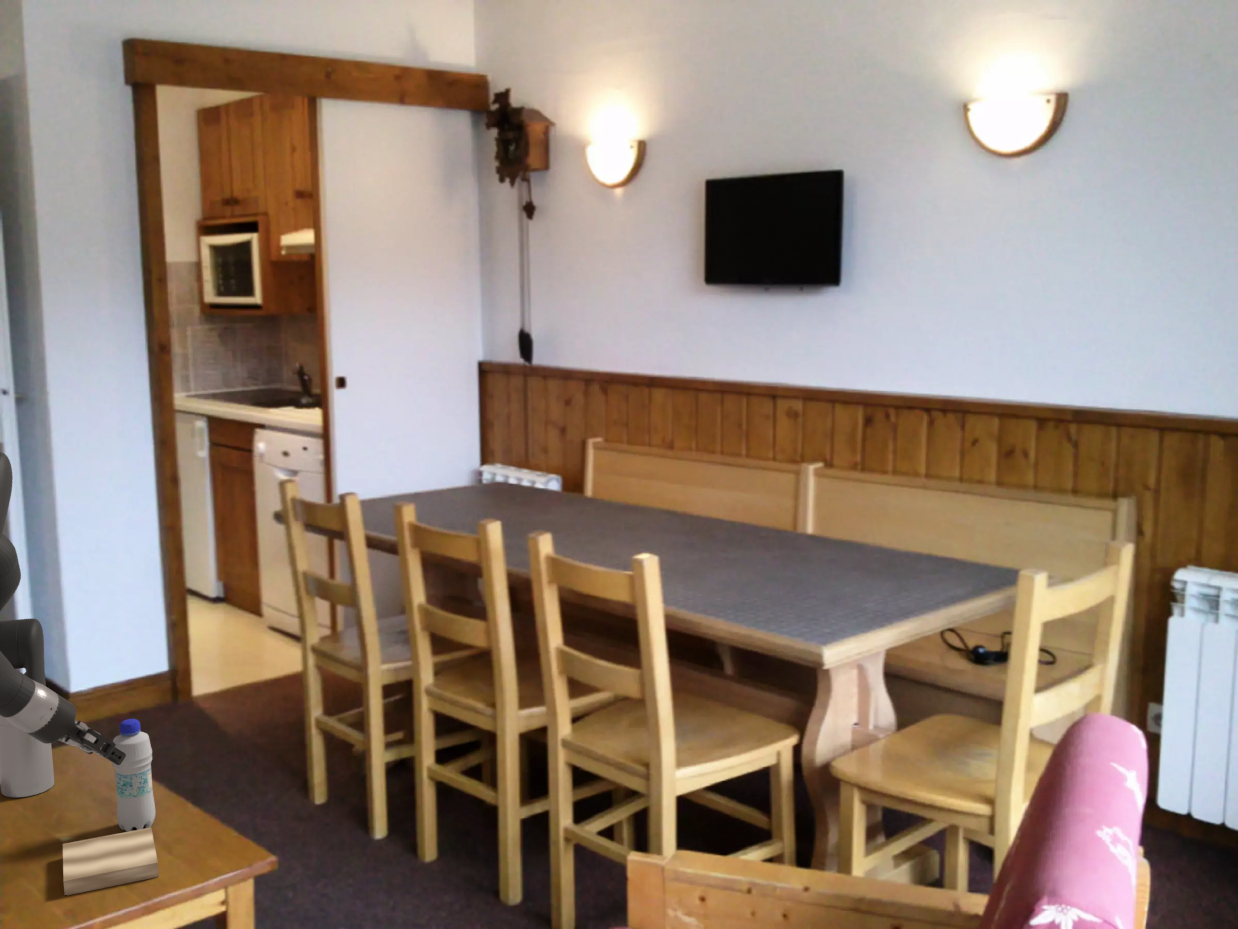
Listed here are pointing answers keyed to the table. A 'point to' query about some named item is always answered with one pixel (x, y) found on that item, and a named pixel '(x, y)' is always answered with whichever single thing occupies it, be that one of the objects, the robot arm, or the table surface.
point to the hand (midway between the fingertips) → (107, 754)
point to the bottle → (134, 778)
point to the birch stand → (109, 861)
